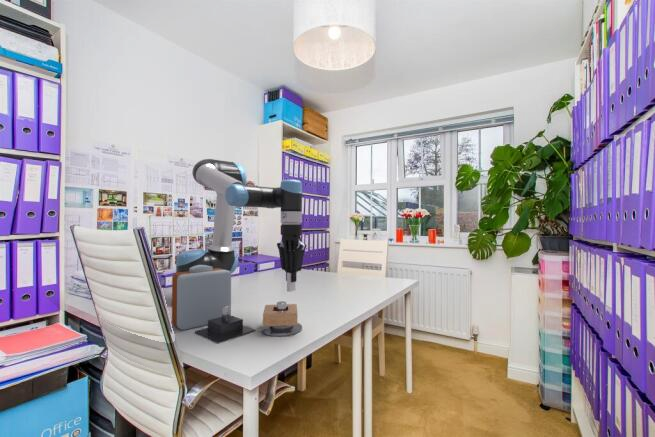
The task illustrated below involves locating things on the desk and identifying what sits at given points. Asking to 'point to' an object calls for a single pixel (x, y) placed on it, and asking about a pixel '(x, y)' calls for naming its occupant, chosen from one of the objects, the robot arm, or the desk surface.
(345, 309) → the desk surface
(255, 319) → the desk surface
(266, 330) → the hub
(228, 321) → the stand
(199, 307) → the grey rounded upright slab
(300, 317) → the desk surface
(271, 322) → the brown square ring block
